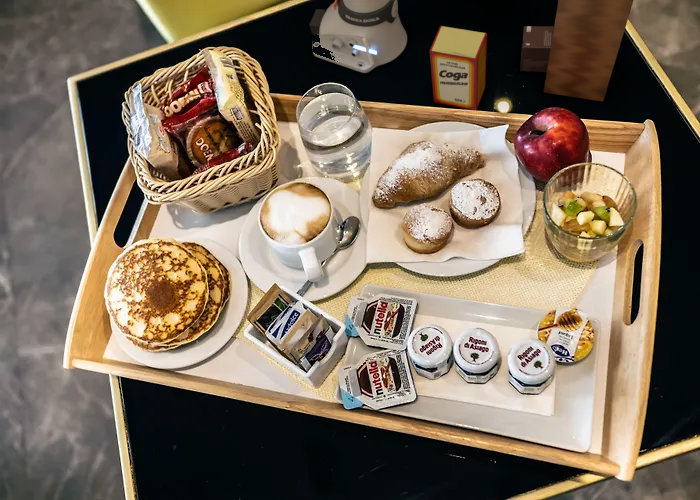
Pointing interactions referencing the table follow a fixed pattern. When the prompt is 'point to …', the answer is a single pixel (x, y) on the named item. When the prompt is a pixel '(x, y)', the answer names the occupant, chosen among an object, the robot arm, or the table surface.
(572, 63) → the wooden high-back chair
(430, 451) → the table surface
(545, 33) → the box
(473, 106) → the baking soda box
